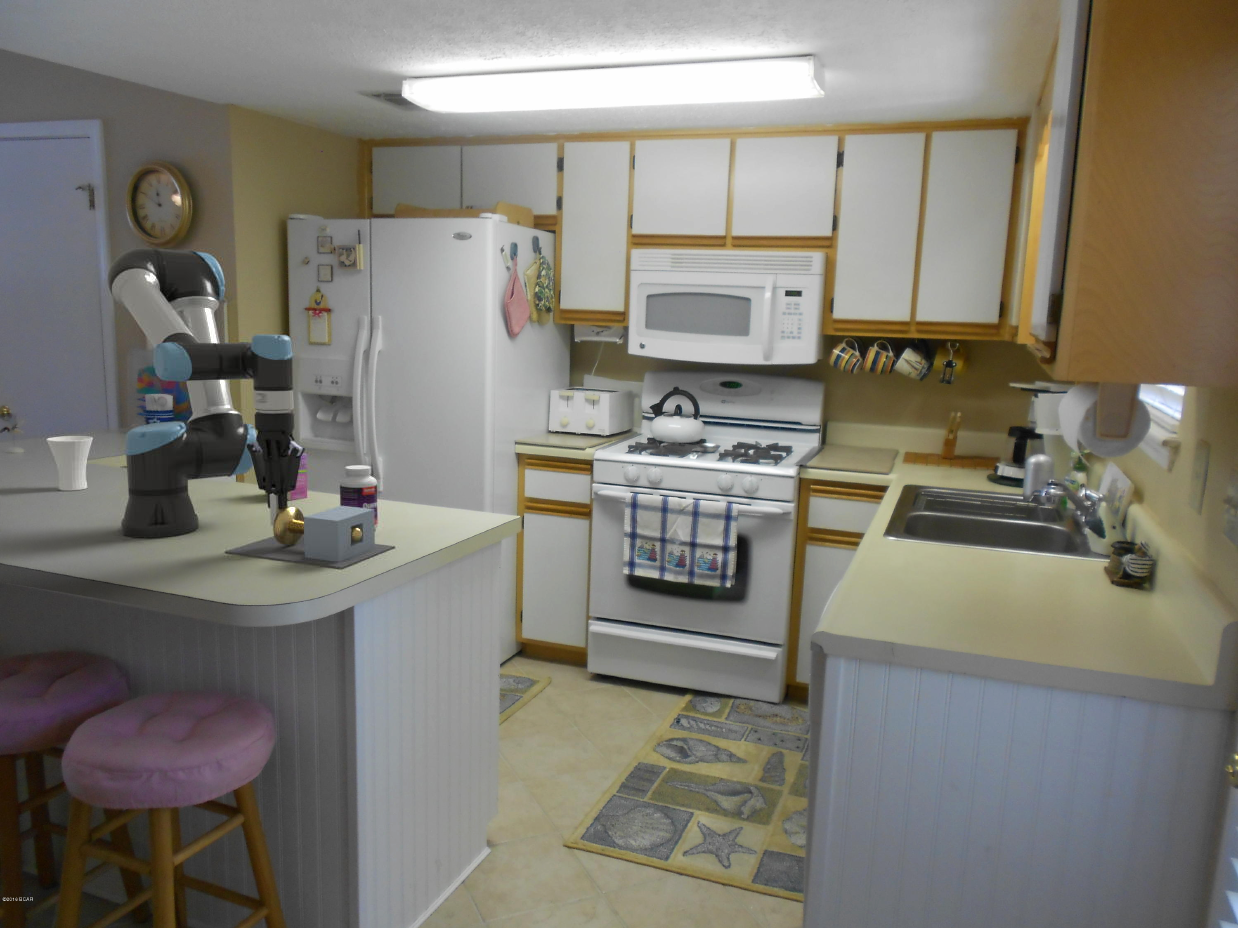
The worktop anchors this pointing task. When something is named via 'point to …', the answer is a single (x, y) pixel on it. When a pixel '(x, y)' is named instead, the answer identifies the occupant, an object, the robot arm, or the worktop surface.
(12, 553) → the worktop surface
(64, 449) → the cup
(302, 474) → the box
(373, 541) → the block
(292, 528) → the pin
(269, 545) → the mat
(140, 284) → the robot arm
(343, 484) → the pill bottle
